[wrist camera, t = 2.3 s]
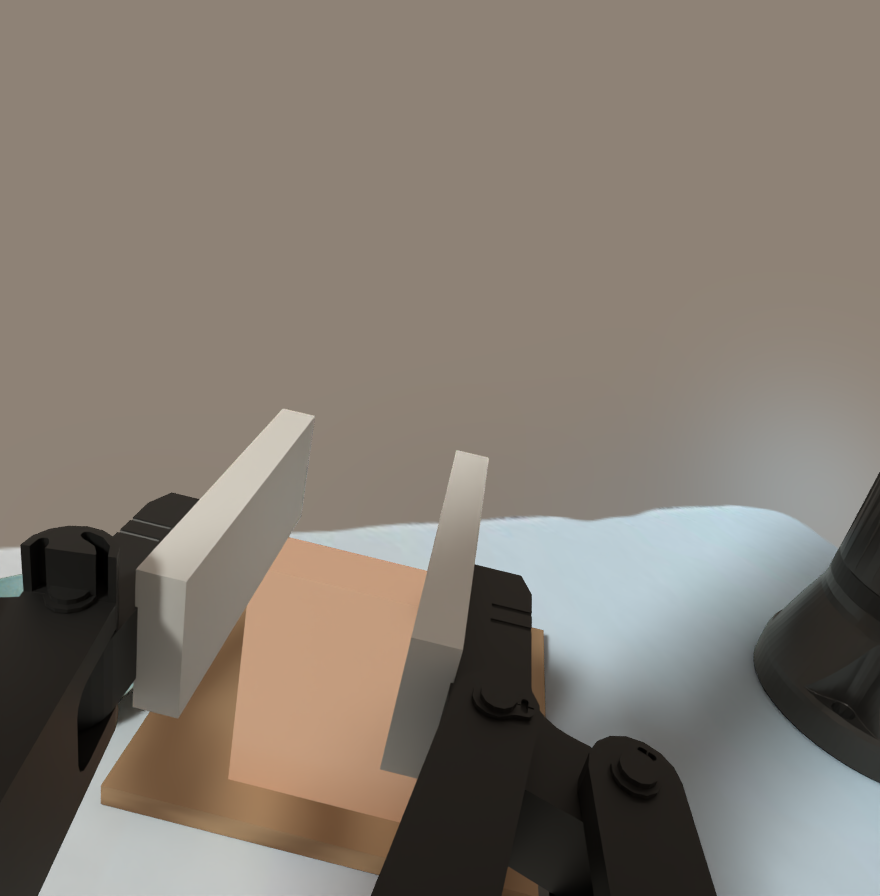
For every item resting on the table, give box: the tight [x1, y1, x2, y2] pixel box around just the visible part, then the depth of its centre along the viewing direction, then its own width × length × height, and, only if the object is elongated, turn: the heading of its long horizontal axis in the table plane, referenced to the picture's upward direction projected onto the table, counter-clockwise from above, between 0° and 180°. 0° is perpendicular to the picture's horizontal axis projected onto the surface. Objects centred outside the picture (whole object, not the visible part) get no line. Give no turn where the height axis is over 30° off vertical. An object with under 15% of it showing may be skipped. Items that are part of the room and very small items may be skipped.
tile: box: [228, 537, 427, 823], centre depth 30 cm, size 10×3×12 cm, turn 83°
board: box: [101, 606, 545, 896], centre depth 39 cm, size 20×18×1 cm
